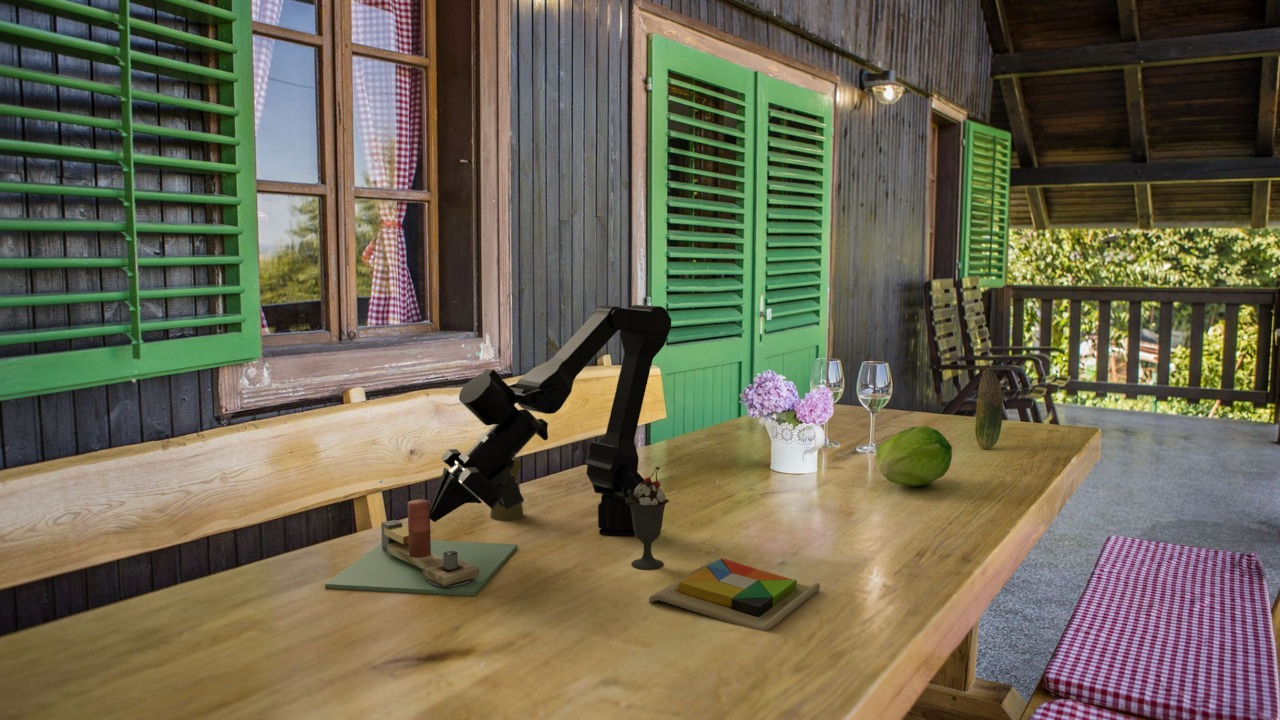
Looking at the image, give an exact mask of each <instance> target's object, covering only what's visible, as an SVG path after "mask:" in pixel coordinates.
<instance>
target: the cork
mask: <svg viewBox="0 0 1280 720" xmlns="http://www.w3.org/2000/svg"><path fill="white" fill-rule="evenodd" d="M512 460H513V461H514V462H515V463H514V466H513V468H512V469H511V470H510V473H511V474H513V475H514V476H515V477H514V479H515V480H516V481H517V483H518V484H517V487H518V489H519V491H520V492H521V489H520V482H519V473H520V471H521V467H522V466H521V464H522V463H521V461H520V460H519V458H518V457H516V456H515V457H514V458H513V459H512ZM489 515H490V516H489V517H490V518H491V519H493V520H496V521H505V522H506V521H507V522H508V521H516V520H519V519H521V518H523V517H524V516H525V515H524V509H523V502H522V503H520V504H518V505H517V506H515V507H513V508H511V509H509V510H508V511H505V508H504V507H501V505H500V504H499V503H498V504H497V505H496V506H495V507H494V508H493V509H491V508H490V514H489Z"/></svg>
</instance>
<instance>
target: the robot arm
mask: <svg viewBox="0 0 1280 720" xmlns="http://www.w3.org/2000/svg"><path fill="white" fill-rule="evenodd" d="M671 327H672V317H671V316H670V315H669V312H668V311H667V309H666V308H665V307H663V306H658V305H643V304H633V305H630V306H629V307H628V308H623V307H621V306H617V305H600V306H598V307H596V308H595V309H594V311H593V312H592V314H591V316H590V317H589V318H588V320H587V321H586V322H585V323H584V324H583V325H582V326H581V327H580V328H579V329H578V330H577V331H576V332H575V333H574V334H573V335H572V337H570V339H569V340H568V341H566V343H565V344H564V345H563V346H562V348H560V349H559V350H558V351H557V353H556V354H555V355H554V356H553V357H552V358H550V359H549V360H547V361H545V362H544V363H541V364H538V365H537V366H535V367H533V368H532V369H530V370H529V371H528V372H526V373H525V374H523V375H522V376H521V377H520V378H519V379H518V380H517V382H515V383H513V384H507V383H506V382H505V381H504V380H503V378H502V377H501V376H500V374H499V373H498V372H497V371H496V370H495V369H491V368H485V369H484V371H483V372H482V373H480V374H479V375H478V374H477V376H474V377H473V378H471V380H469V381H468V382H465V384H463V386H462V388H461V389H460V392H459V395H458V400H459V402H460V403H461V404H462V405H463V406H464V407H465V408H466V409H467V410H468V411H469V412H471V413H472V414H473V415H474V417H475V418H477V419H478V420H479V421H480V422H481V423H482V424H483V425H484V426H491V427H490V428H489V429H488V430H487V431H486V432H485V433H483V432H480V433H479V435H477V438H478V441H477V442H476V443H475V444H474V445H473V446H472V447H471V448H470V449H469V450H468V452H466V453H465V452H464V451H463V452H462V453H461V452H460V451H459V450H458V449H457V448H451V449H447V450H446V452H445V453H443V454H442V456H441V457H440V459H441V461H442V462H443V463H445V464H446V465H447V466H448V467H449V468H450V469H448V468H447V467H444V468H443V469H442V470H443V471H442V474H441V478H440V481H439V484H438V487H437V489H436V493H435V495H434V496H433V497H434V498H433V500H432V503H431V505H430V521H432V522H433V523H436V522H438V521H439V520H441V519H442V518H443V517H445V516H447V515H448V514H450V513H452V512H453V511H455V510H457V509H458V508H460V507H462V506H463V505H465V504H479V505H480V504H482V502H483V503H484V504H486V506H488V507H489V508H490V510H491V509H493V508H494V507H495V506H496V505H497V504H498V503H499V504H500V505H501V507H504V508H505V511H508V510H509V509H511V508H513V507H515V506H517V505H518V504H520V503H522V504H523V503H524V501H525V499H524V497H523V496H522V493H521V490H520V491H519V489H518V487H517V484H518V483H517V481H516V480H515V479H514V477H515V476H514V475H513V474H511V473H510V470H511V469H512V468H513V466H514V463H515V462H514V461H513V460H512V459H513V458H514V457H516V456H517V455H518V453H520V451H522V450H523V448H525V446H526V445H527V444H528V443H529V442H530V441H531V440H532V438H534V436H535V435H537V436H538V437H539V438H541V439H542V440H544V441H547V440H548V439H549V434H548V433H549V432H548V426H549V423H548V422H547V421H546V420H545V419H543V418H536V417H535V416H534V414H532V412H535V413H540V414H544V415H547V414H548V415H552V414H556V413H558V411H559V410H560V409H561V408H562V407H563V406H564V404H565V402H566V401H567V399H568V398H569V396H570V395H571V393H572V391H573V390H572V389H573V387H574V386H573V385H574V381H575V379H576V378H577V377H578V375H579V374H580V373H581V372H582V371H583V370H584V368H586V367H587V365H589V363H591V361H592V360H593V359H594V357H595V356H596V355H598V353H599V352H600V350H602V349H603V348H604V346H605V345H606V344H607V343H608V342H609V341H610V340H611V339H612V338H613V336H615V334H616V333H617V332H618V331H619V330H620V334H619V336H620V337H619V338H620V341H621V344H622V348H623V352H624V354H623V358H622V363H621V367H620V371H619V374H618V375H619V376H618V380H617V384H616V389H615V392H614V397H613V400H612V401H613V402H612V406H611V411H610V413H609V418H608V424H607V428H606V432H605V435H604V436H602V438H601V439H600V441H599V442H596V441H592V442H590V445H589V452H588V456H587V459H586V461H585V462H584V465H585V466H587V467H586V476H587V478H588V480H589V481H590V482H591V484H592V488H593V491H594V493H595V494H601V497H600V502H599V503H598V505H597V527H598V528H599V531H598V533H599V534H600V535H611V536H612V535H614V536H635V533H634V528H633V521H632V513H631V508H630V506H627V504H626V499H627V498H628V497H630V496H629V495H628V492H627V491H628V490H629V489H631V491H632V492H633V494H634V491H635V488H636V487H637V486H638V485H639V483H642V482H643V481H644V480H645V478H644V477H642V475H641V474H640V473H639V472H638V469H639V468H638V467H639V453H638V451H637V448H636V443H635V439H636V433H637V431H638V430H637V428H638V424H639V419H640V417H641V416H640V415H641V412H642V408H643V407H642V406H643V403H644V400H645V399H644V398H645V395H646V389H647V386H648V380H649V376H650V373H651V368H652V363H653V360H654V359H655V357H656V356H657V354H658V353H659V352H660V351H661V350H662V349H663V348H664V347H665V344H666V341H667V339H668V336H669V334H670V331H671V329H672V328H671ZM516 404H517V405H518V406H519V407H520V408H522V409H518V408H517V407H516V406H515V405H516ZM635 537H636V536H635Z"/></svg>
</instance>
